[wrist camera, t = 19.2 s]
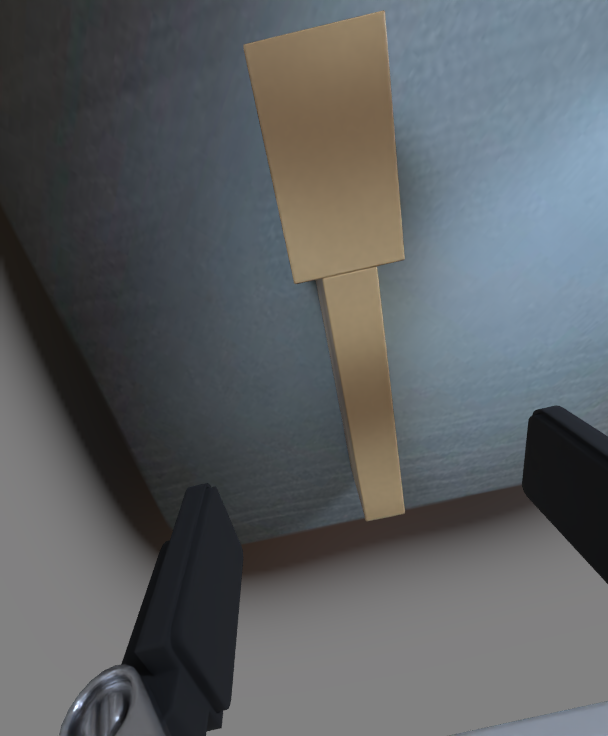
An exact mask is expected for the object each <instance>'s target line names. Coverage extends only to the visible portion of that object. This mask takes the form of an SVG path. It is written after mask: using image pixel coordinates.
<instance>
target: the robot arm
mask: <svg viewBox="0 0 608 736" xmlns="http://www.w3.org/2000/svg"><path fill="white" fill-rule="evenodd" d="M522 487H523V490H524V492H525V494H526V495H527V497H528V498H529V499H530V500H531V501H532V502H533V503H534V505H535V506H536V507H537V508H539V510H540V511H541V512H542V513H543V514H544V515H545V516H546V518H547V519H548V520H549V521H551V523H552V524H553V525H554V526H555V527H556V528H557V529H558V531H559V532H560V533H561V534H562V535H563V536H564V537H565V538H566V539H567V540H568V541H569V542H570V544H572V546H573V547H574V548H575V549H576V550H577V551H578V552H579V553H580V554H581V555H582V556H583V558H584V559H585V560H586V561H587V562H588V563H589V564H590V565H591V566H592V567H593V568H594V570H595V571H596V572H597V573H598V574H599V575H600V576H601V577H602V578H603V579H604V580H605V581H606V583H607V584H608V436H606V435H605V434H603V433H601V432H600V431H598V430H597V429H595V428H594V427H592V426H591V425H589V424H587V423H586V422H584V421H583V420H581V419H580V418H578V417H577V416H575V415H574V414H572V413H570V412H569V411H567V410H566V409H564V408H563V407H560V406H551V407H547V408H542V409H538V410H535V411H534V412H533V415H532V416H531V417H530V418H529V421H528V430H527V440H526V450H525V460H524V470H523V480H522ZM242 567H243V550H242V547H241V544H240V542H239V539H238V537H237V534H236V532H235V530H234V527H233V525H232V523H231V520H230V518H229V516H228V513H227V511H226V508H225V506H224V504H223V501H222V499H221V497H220V494H219V492H218V490H217V488H216V487H211V486H210V485H209V484H208V483H205V484H201V485H197V486H192V487H188V488H187V490H186V492H185V495H184V498H183V501H182V505H181V508H180V511H179V514H178V517H177V520H176V523H175V526H174V530H173V533H172V536H171V539H170V541H166V542H165V543H164V544H163V546H162V548H161V550H160V553H159V555H158V558H157V561H156V564H155V567H154V570H153V573H152V576H151V579H150V582H149V585H148V588H147V591H146V594H145V597H144V600H143V602H142V605H141V608H140V611H139V614H138V617H137V620H136V623H135V626H134V629H133V632H132V635H131V638H130V641H129V644H128V647H127V650H126V653H125V655H124V659H123V661H122V664H121V665H115V666H113V667H111V668H109V669H107V670H104V671H103V672H101V673H100V674H99V675H98V676H96V677H95V678H94V679H92V680H91V681H90V682H89V684H87V686H86V687H85V688H84V689H83V690H82V691H81V692H80V693H79V695H78V696H77V698H76V699H75V701H74V702H73V704H72V705H71V707H70V708H69V710H68V712H67V715H66V717H65V719H64V721H63V723H62V725H61V729H60V733H59V736H206V731H210V730H214V729H219V728H221V727H222V718H223V710H227V709H228V708H229V706H230V702H231V695H232V683H233V672H234V659H235V649H236V637H237V625H238V614H239V602H240V590H241V579H242ZM450 736H608V701H606V702H602V703H596V704H592V705H587V706H582V707H578V708H573V709H569V710H564V711H560V712H555V713H550V714H545V715H541V716H537V717H532V718H527V719H523V720H518V721H514V722H509V723H505V724H500V725H495V726H491V727H487V728H481V729H477V730H472V731H468V732H463V733H459V734H454V735H450Z"/></svg>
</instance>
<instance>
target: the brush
mask: <svg viewBox="0 0 608 736" xmlns="http://www.w3.org/2000/svg"><path fill="white" fill-rule="evenodd" d="M243 48H244V53H245V57H246V62H247V67H248V71H249V76H250V81H251V85H252V90H253V94H254V99H255V104H256V108H257V113H258V118H259V122H260V127H261V131H262V136H263V141H264V145H265V150H266V155H267V159H268V164H269V168H270V173H271V178H272V182H273V187H274V192H275V196H276V201H277V205H278V210H279V215H280V219H281V224H282V229H283V233H284V238H285V242H286V247H287V252H288V256H289V261H290V266H291V270H292V275H293V279H294V283H295V284H299V283H303V282H308V281H312V280H316V285H317V290H318V296H319V301H320V306H321V311H322V317H323V322H324V327H325V333H326V338H327V343H328V348H329V354H330V359H331V364H332V369H333V375H334V380H335V385H336V391H337V396H338V401H339V406H340V412H341V417H342V422H343V427H344V433H345V438H346V443H347V449H348V454H349V459H350V464H351V470H352V473H353V477H354V480H355V484H356V487H357V491H358V494H359V498H360V501H361V505H362V508H363V512H364V515H365V519H366V521H370V520H375V519H380V518H385V517H390V516H395V515H400V514H404V513H405V509H404V500H403V491H402V482H401V474H400V465H399V456H398V447H397V438H396V429H395V421H394V412H393V403H392V394H391V385H390V377H389V368H388V359H387V350H386V341H385V332H384V324H383V315H382V306H381V297H380V288H379V279H378V271H377V267H376V266H379V265H384V264H388V263H393V262H397V261H402V260H404V259H405V257H404V244H403V231H402V219H401V206H400V194H399V181H398V169H397V156H396V144H395V131H394V118H393V106H392V93H391V81H390V68H389V56H388V43H387V31H386V18H385V11H379V12H375V13H371V14H367V15H363V16H359V17H355V18H351V19H346V20H342V21H338V22H334V23H330V24H326V25H322V26H318V27H314V28H310V29H305V30H301V31H297V32H293V33H289V34H285V35H281V36H277V37H273V38H269V39H264V40H260V41H256V42H252V43H248V44H244V46H243Z"/></svg>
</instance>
